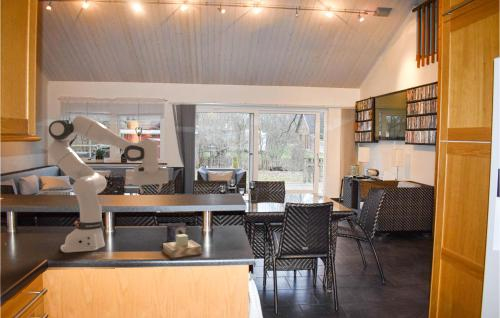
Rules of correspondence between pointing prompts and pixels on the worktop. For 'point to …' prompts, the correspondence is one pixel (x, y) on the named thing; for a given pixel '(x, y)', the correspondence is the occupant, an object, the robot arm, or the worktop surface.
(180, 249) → the birch platform
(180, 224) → the small box
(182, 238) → the sage cube
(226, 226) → the worktop surface
